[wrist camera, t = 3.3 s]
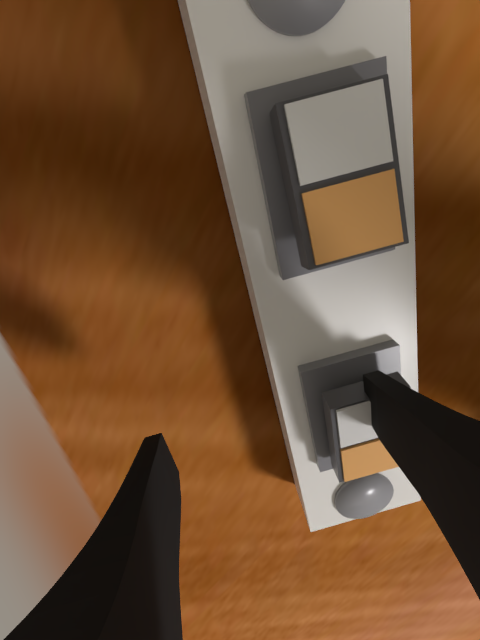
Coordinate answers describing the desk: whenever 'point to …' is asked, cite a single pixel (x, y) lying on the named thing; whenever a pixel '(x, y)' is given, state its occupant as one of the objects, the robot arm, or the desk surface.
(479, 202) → the desk surface
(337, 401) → the rocker
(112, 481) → the desk surface
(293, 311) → the rocker switch panel
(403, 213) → the rocker
